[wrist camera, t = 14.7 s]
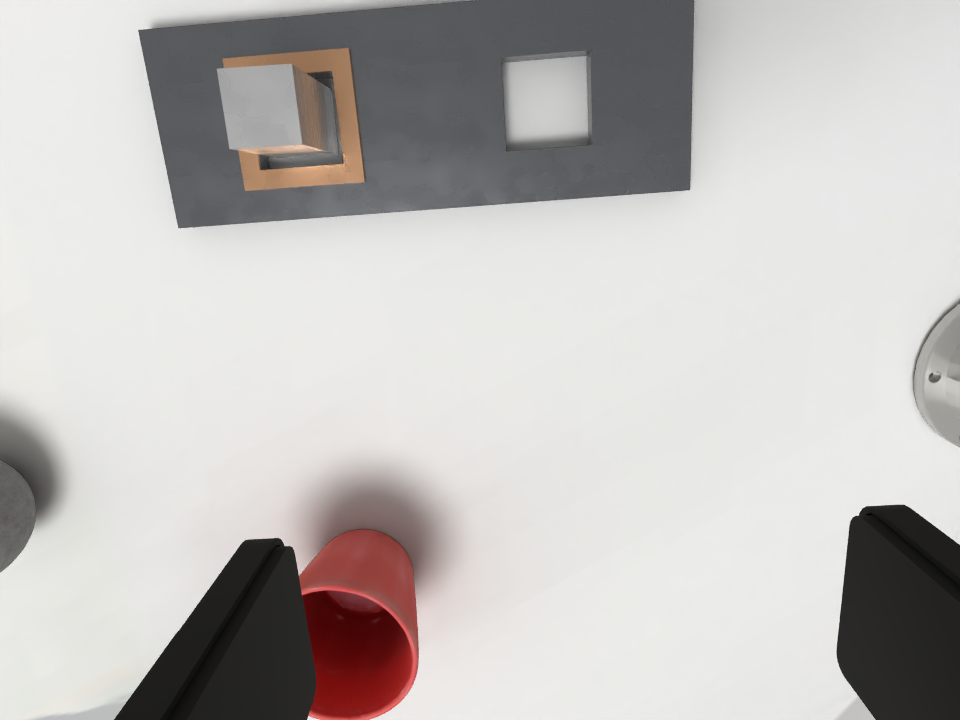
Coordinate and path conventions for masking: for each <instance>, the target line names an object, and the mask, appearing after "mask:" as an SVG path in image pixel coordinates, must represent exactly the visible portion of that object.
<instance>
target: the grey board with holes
mask: <svg viewBox="0 0 960 720" xmlns="http://www.w3.org/2000/svg"><path fill="white" fill-rule="evenodd" d="M693 25H694V0H475V1H464V2H452V3H441V4H429V5H418V6H407V7H395V8H384V9H372V10H361V11H350V12H338V13H327V14H316V15H304V16H293V17H281V18H270V19H259V20H247V21H236V22H224V23H213V24H202V25H190V26H179V27H168V28H156V29H145V30H138V31H139V36H140V41H141V46H142V51H143V56H144V61H145V66H146V71H147V76H148V81H149V86H150V90H151V95H152V100H153V105H154V110H155V115H156V120H157V125H158V130H159V135H160V140H161V145H162V150H163V154H164V159H165V164H166V169H167V174H168V179H169V184H170V189H171V194H172V199H173V204H174V209H175V214H176V218H177V223H178V228H188V227H201V226H215V225H228V224H242V223H255V222H268V221H282V220H295V219H309V218H322V217H335V216H349V215H362V214H376V213H389V212H402V211H416V210H429V209H443V208H456V207H470V206H483V205H496V204H510V203H523V202H537V201H550V200H563V199H577V198H590V197H604V196H617V195H630V194H644V193H657V192H671V191H684V190H690V169H691V121H692V73H693ZM576 56H587V94H588V139H589V145H582V146H569V147H556V148H543V149H531V150H518V151H506V135H505V118H504V101H503V83H502V66H501V63H504V62H516V61H528V60H540V59H552V58H564V57H576ZM280 64H293V65H295V66H296V67H298V68H299V69H301V70H302V71H304V72H305V73H307V74H308V75H310V76H311V77H313V78H325V77H333V82H334V90H335V98H336V106H337V114H338V122H339V129H340V137H341V145H342V153H343V161H344V164H334V165H321V166H308V167H296V168H283V169H270V168H269V162H268V156H266V155H260V154H254V153H249V152H243V151H238V150H232V149H229V143H228V136H227V130H226V124H225V118H224V111H223V105H222V99H221V92H220V86H219V80H218V74H217V69H220V68H235V67H250V66H265V65H280Z"/></svg>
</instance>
